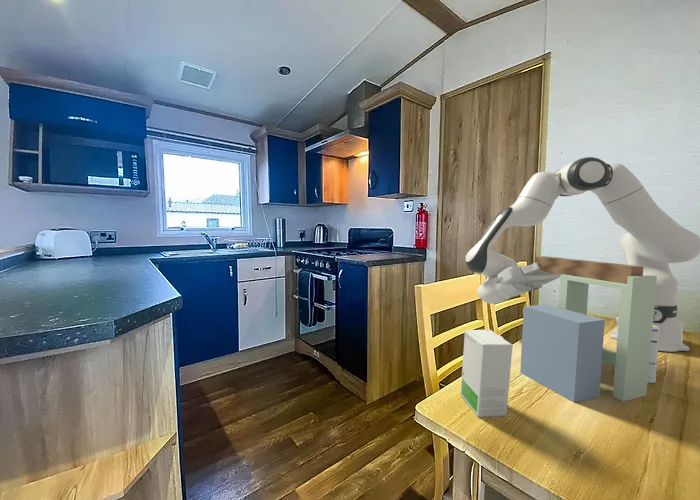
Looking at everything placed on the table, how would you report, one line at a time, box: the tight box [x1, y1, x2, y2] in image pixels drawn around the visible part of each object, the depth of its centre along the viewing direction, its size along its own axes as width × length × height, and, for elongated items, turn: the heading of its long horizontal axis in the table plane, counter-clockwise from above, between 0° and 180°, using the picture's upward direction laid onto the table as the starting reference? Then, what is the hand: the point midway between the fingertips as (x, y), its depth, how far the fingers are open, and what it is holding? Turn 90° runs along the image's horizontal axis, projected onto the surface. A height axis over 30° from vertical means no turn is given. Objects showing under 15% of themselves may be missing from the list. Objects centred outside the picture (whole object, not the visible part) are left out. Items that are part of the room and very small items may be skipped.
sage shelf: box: [557, 274, 657, 402], centre depth 74 cm, size 16×8×28 cm, turn 17°
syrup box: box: [647, 325, 659, 384], centre depth 76 cm, size 6×6×14 cm
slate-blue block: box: [519, 303, 606, 403], centre depth 73 cm, size 14×8×18 cm, turn 17°
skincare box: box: [460, 329, 514, 418], centre depth 63 cm, size 8×7×16 cm
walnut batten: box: [534, 255, 643, 284], centre depth 78 cm, size 24×4×4 cm, turn 17°
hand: (551, 264), depth 86 cm, fingers open, 8 cm apart
